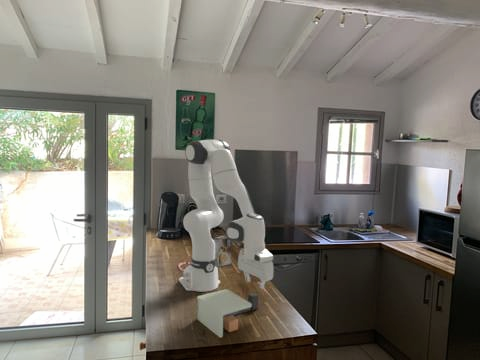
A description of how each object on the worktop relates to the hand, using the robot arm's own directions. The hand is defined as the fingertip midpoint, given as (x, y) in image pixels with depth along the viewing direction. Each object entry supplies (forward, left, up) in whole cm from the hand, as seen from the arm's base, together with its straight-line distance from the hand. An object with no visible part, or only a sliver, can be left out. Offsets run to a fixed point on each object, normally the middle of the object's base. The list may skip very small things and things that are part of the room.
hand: (254, 284), depth 151 cm
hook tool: (+2, -8, -10) cm, 13 cm away
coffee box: (-57, +20, -11) cm, 62 cm away
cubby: (+3, -18, -11) cm, 21 cm away
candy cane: (-63, -1, -11) cm, 64 cm away
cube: (+8, -18, -11) cm, 22 cm away
